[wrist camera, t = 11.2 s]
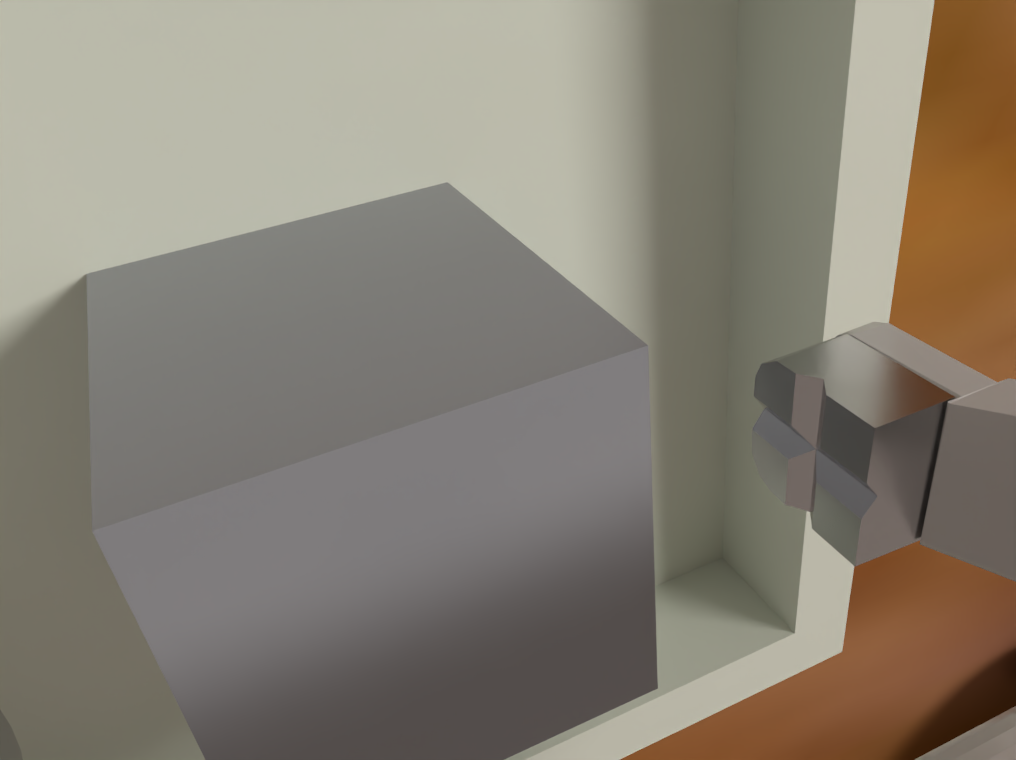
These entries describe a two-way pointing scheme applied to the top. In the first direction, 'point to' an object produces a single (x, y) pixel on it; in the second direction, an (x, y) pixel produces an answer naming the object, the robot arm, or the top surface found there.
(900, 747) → the top surface
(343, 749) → the matte grey cube
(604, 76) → the dish
